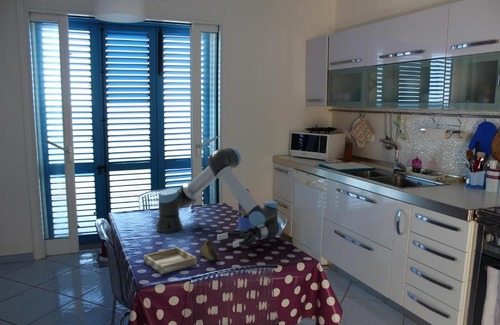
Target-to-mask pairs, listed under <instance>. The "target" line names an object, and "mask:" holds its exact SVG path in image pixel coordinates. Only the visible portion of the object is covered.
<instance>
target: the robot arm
mask: <svg viewBox="0 0 500 325" xmlns="http://www.w3.org/2000/svg"><path fill="white" fill-rule="evenodd" d="M241 159H242V158H241V154H240V152H239V151H238V149H236V148H234V147H227V148H223V149H221V148H220V149H216V150H213V151H212V152H211V154H210V155H209V157H208V166H206V168H205V169H203V170H202V171H201V172H200V173H199V174H198V175H197V176H196V177H194V179H192V180H191V181H190V182H187V183H186V182H185V183H184V184H183V185H182V186H180V188H178V189H177V188H167V189H162V190H161V191H159V194H158V199H157V201H158V213H159V214H158V216H159V217H158V220H157V224H156V226H155V227H156V231H157V232H159V233H162V234H170V233H177V232H179V231H181V230H183V223H182V222H181V218H180V217H181V216H180V209H181V210H182V209H184V208H186V207H190V206H192V205H194V204H195V203H196V202H197V201H198V199H199V194H200V193H202V192H203V191H204V190H205V189H206V188H207V187H208V186H209V185H211V184H212V183H213V182H214V181H215V180H216V179H219V180H220V181H221V182H222V184H223V185H224V186H225V188H226V189H227V190H228V191H229V193H230V194H231V195H232V196H233V197H234V199H235V200H236V201H237V203H238V202H239V203H240V205H241V206H242V207H243V208H244V210H245V211H246V212H247V213H248V215H249V221H250V223H251V224H252V225H253V227H250V228H249V229H248V231H243V229H242V230H238V229H234V230H225V232H224V233H221V234H219V233H218V234H217V235H216V240H217V241H222V240H225V239H228V238H239V239H238V240H236V241H235V240H234V241H232V248H238V247H241V246H248V247H249V246H251V245H253V244H254V243H255V242H257V241H260V240H263V239H267V238H270V237H275V236H277V235H279V234H281V232H282V231H283V226H282V224H281V222H280V221H279V218H278V217H279V214H278V213H279V211H278V210H279V208H278V207H279V203H278V202H277V201H275V200H265V201H264V203H263V207H261V205H259V203H258V202H257V201H256V199H255V198H254V197H253V195H251V193H250V191H249V192H248V191H247V190H246V189H247V187H245V186H244V185H243V183H242V182H241V181H240V180H239V178H238V177H237V176H236V175H235V173H234V172H233V171H232V169H233V168H234V169H235V168H237V167H238V166H239V165H240V164H241V161H242V160H241Z"/></svg>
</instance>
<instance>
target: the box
mask: <svg viewBox="0 0 500 325" xmlns="http://www.w3.org/2000/svg"><path fill="white" fill-rule="evenodd" d="M143 259H144V260H143V263H144V264H146V265H147V266H149V268H152V269H153V270H155V271H156V272H158V273H159V274H161V275H164V274H168V273H171V272H172V273H173V272H175V271H179V270H182V269H186V268H190V267H193V266H196V265H197V261H198V260H197V259H198V258H197V256H195V255H193V254H191V253H189V252H188V251H186V250H185V249H182V248H180V247H179V246H177V247H173V248H171V247H170V248H168V249H164V250H159V251H156V252H152V253H147V254H144V255H143ZM153 266H154V267H153ZM164 271H165V272H164Z"/></svg>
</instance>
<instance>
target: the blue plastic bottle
mask: <svg viewBox="0 0 500 325" xmlns="http://www.w3.org/2000/svg"><path fill="white" fill-rule="evenodd" d="M246 190H247V191H248V192H249V193H250V190H249V189H248V188H246ZM237 205H238V215H237V216H238V217H237V218H238V219H237V220H238V222H237V223H238V224H237V230H242V229H243V231H248V229H249V228H250V227H254V226H253V225H252V224H251V223H250V221H249V215H248V213H247V212H246V211H245V210H244V208H243V207H242V206H241V205H240V203H239V202H238V201H237Z"/></svg>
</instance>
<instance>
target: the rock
mask: <svg viewBox="0 0 500 325" xmlns="http://www.w3.org/2000/svg"><path fill="white" fill-rule="evenodd" d="M199 255H200V256H201V257H204V258H206V259H207V260H209V261H218V260H219V261H220V257H219V254H218V253H217V250H215V247H214V246H213V244H212V243H211V242H210V240H209V239H207V240H206V241H205V242H203V244H202V245H201V247H200V249H199Z"/></svg>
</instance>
